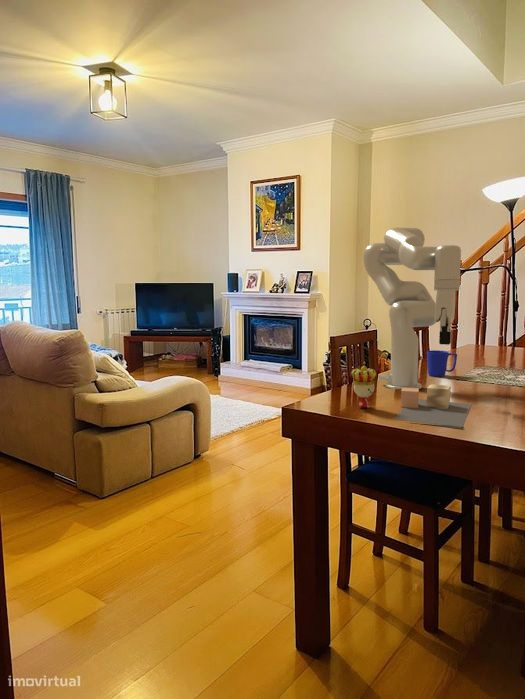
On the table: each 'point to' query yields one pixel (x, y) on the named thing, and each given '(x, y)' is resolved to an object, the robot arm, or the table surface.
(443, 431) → the table surface
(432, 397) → the maple block
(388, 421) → the table surface
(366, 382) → the toy
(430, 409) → the mat
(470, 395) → the table surface
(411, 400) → the terracotta block
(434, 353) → the mug
